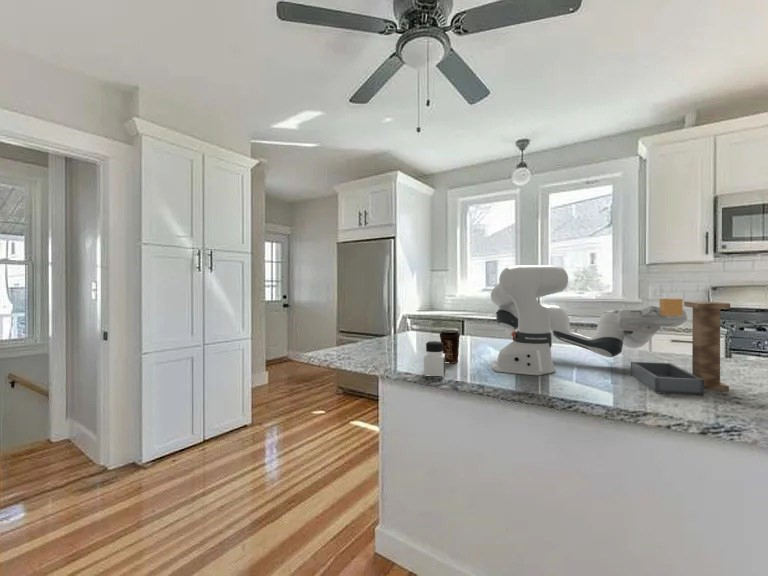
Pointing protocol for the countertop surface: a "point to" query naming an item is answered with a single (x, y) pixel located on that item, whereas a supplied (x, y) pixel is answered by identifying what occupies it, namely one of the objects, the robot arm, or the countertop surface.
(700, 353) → the pedestal
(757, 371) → the countertop surface
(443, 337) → the coffee cup
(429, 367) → the medicine bottle
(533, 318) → the robot arm
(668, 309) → the lock pin
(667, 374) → the tray
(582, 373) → the countertop surface
